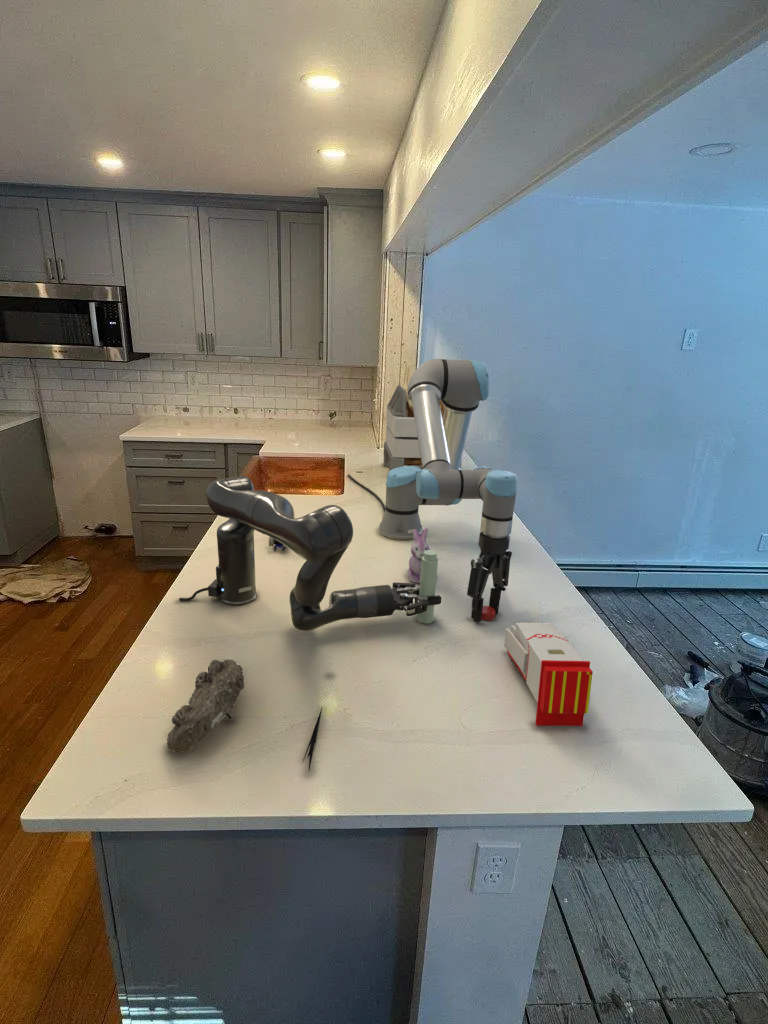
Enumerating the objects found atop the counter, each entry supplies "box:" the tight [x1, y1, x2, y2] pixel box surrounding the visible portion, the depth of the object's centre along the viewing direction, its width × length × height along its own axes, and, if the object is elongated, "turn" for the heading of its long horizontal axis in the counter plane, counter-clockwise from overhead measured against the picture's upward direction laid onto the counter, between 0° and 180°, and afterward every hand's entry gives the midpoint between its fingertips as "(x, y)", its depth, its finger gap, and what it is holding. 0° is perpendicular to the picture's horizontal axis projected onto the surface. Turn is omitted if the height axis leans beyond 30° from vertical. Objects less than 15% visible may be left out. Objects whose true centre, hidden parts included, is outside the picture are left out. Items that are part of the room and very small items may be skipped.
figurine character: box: [268, 536, 288, 552], centre depth 185 cm, size 7×8×15 cm
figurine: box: [407, 527, 431, 584], centre depth 166 cm, size 9×10×15 cm
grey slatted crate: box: [383, 384, 463, 471], centre depth 268 cm, size 34×33×41 cm
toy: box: [503, 622, 594, 727], centre depth 121 cm, size 12×13×30 cm
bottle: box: [416, 549, 439, 624], centre depth 142 cm, size 4×4×19 cm
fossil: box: [166, 658, 245, 754], centre depth 106 cm, size 22×10×15 cm
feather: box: [301, 673, 332, 771], centre depth 108 cm, size 2×28×2 cm
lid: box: [481, 605, 496, 621], centre depth 148 cm, size 5×5×2 cm
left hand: (437, 595), depth 144 cm, fingers closed on bottle, 4 cm apart
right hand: (484, 615), depth 148 cm, fingers open, 6 cm apart
